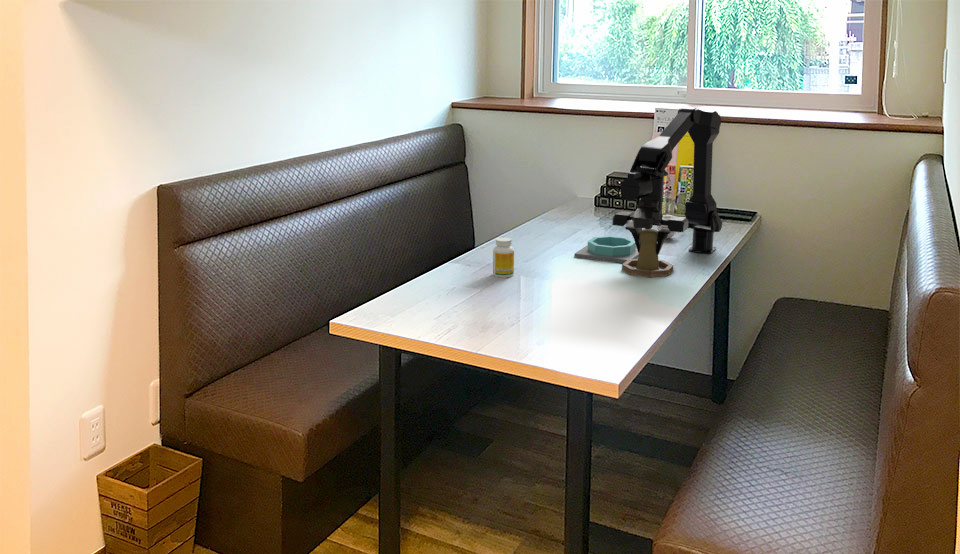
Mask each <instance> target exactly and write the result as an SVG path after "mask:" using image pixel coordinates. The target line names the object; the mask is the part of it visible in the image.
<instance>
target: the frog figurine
mask: <svg viewBox="0 0 960 554" xmlns="http://www.w3.org/2000/svg"><path fill="white" fill-rule="evenodd" d="M673 216H674V215H670V214H663V217H662V219H671V218H672V217H673ZM656 228H657V229H656V230H657V231H659V230H660V229H661V226H656ZM675 235H676V232H673V231H672V232H671V233H670V234H668V236H667V237H666V240H667V239H672V238H673V237H674V236H675Z"/></svg>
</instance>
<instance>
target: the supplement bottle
mask: <svg viewBox="0 0 960 554" xmlns="http://www.w3.org/2000/svg"><path fill="white" fill-rule="evenodd" d="M512 241H513V240H512V238H510V237H498V238H495V246H494V247H493V250H492V275H493V276H494V277H496V278H500V277H502V279H507V278H506V277H508V278H511V277H513V276H514V272H515V271H514V270H515V267H514V266H515V265H514V264H515V248H514V247H513V246H511V245H512V243H513V242H512Z"/></svg>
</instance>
